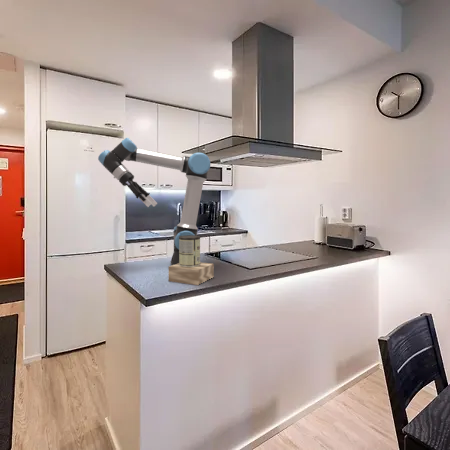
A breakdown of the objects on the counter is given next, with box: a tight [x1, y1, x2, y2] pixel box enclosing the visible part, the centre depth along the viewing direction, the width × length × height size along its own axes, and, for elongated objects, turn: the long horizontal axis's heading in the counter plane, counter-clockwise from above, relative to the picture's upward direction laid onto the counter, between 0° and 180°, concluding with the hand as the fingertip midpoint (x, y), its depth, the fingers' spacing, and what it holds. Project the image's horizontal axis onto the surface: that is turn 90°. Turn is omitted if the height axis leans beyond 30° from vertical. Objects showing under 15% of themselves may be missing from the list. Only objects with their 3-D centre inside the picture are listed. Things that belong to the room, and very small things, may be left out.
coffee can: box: [179, 235, 201, 267], centre depth 149 cm, size 10×10×14 cm
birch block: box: [168, 261, 215, 286], centre depth 150 cm, size 16×16×7 cm
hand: (153, 205), depth 161 cm, fingers open, 13 cm apart
